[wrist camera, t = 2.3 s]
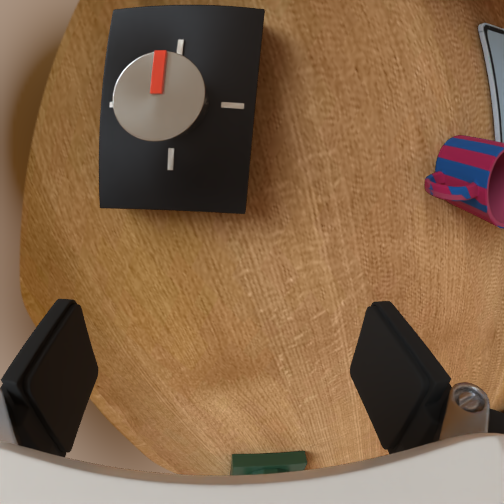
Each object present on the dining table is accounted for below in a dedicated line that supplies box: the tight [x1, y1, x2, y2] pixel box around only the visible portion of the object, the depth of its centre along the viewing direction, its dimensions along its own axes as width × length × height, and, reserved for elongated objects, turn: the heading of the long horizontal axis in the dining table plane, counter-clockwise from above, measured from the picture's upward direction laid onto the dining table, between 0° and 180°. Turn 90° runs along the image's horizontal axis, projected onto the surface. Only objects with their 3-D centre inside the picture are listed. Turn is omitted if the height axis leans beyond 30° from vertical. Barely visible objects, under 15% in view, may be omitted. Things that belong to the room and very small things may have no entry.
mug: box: [425, 135, 504, 229], centre depth 21 cm, size 7×10×7 cm
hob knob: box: [113, 50, 210, 141], centre depth 15 cm, size 4×4×6 cm
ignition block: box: [230, 451, 307, 475], centre depth 36 cm, size 10×8×4 cm
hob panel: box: [99, 5, 265, 214], centre depth 19 cm, size 14×10×3 cm
